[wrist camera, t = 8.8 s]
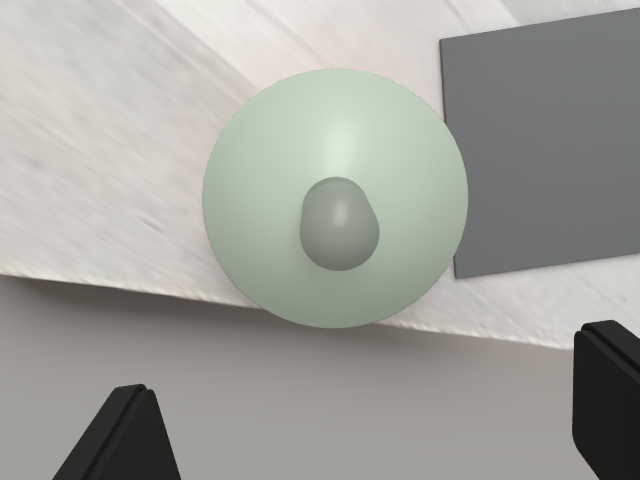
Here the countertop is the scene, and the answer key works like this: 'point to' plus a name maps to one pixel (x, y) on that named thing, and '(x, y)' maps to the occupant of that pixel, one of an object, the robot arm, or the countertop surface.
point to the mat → (547, 141)
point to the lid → (335, 198)
